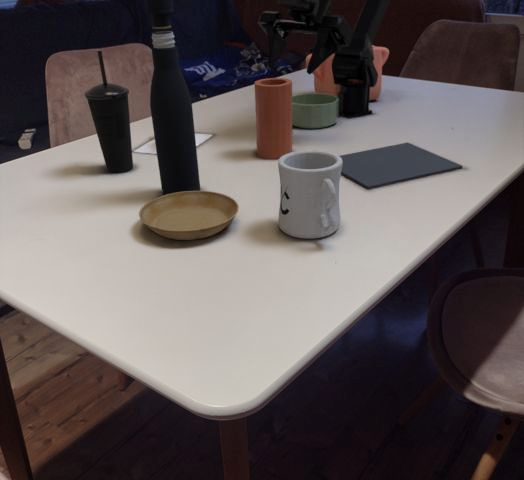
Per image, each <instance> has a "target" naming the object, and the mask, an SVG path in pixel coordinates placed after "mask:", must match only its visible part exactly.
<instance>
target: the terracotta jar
mask: <svg viewBox="0 0 524 480" xmlns="http://www.w3.org/2000/svg"><path fill="white" fill-rule="evenodd" d="M292 96H293V81H292V79H289V78H283V77H269V78H262V79H258V80H256V81H254V103H255V105H254V106H255V131H256V154H257V156H258V157H260V158H263V159H266V160H279V159H280V157H282V156H283V155H285V154H288V153H291V152H293V125H292Z"/></svg>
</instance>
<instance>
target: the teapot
mask: <svg viewBox="0 0 524 480" xmlns="http://www.w3.org/2000/svg"><path fill="white" fill-rule="evenodd" d="M372 47H373V54H374V60H373V64H374V66H375V68H376V71H377V73H378V78H377V83H376V85H375V87H370V96H369V101H374V100H380V97H381V92H382V82H383V81H382V79H383V66H384V65H385V64H386V62H387V61H388V58H389V55H390V50H389V48H387V47H384V46H376V45H374V44H372ZM334 55H335V54H332V55H331V56H330V57H329V58H327V59H326V60H325V61H324V62H323V63H322V64H321V65H320V66H319V67H318V68H317V69H316V70H315V71H313V72H312V73H311V74H312V75H313V86H314V88H313V89H314V93H325V94H331V95H334V96H337V97H338V92H340V84H334V79H333V73H332V59H333V57H334ZM311 56H312V53H310V54H308V55H306V58H305V64H306V68H307V67H308V64H309V61H310V58H311Z"/></svg>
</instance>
